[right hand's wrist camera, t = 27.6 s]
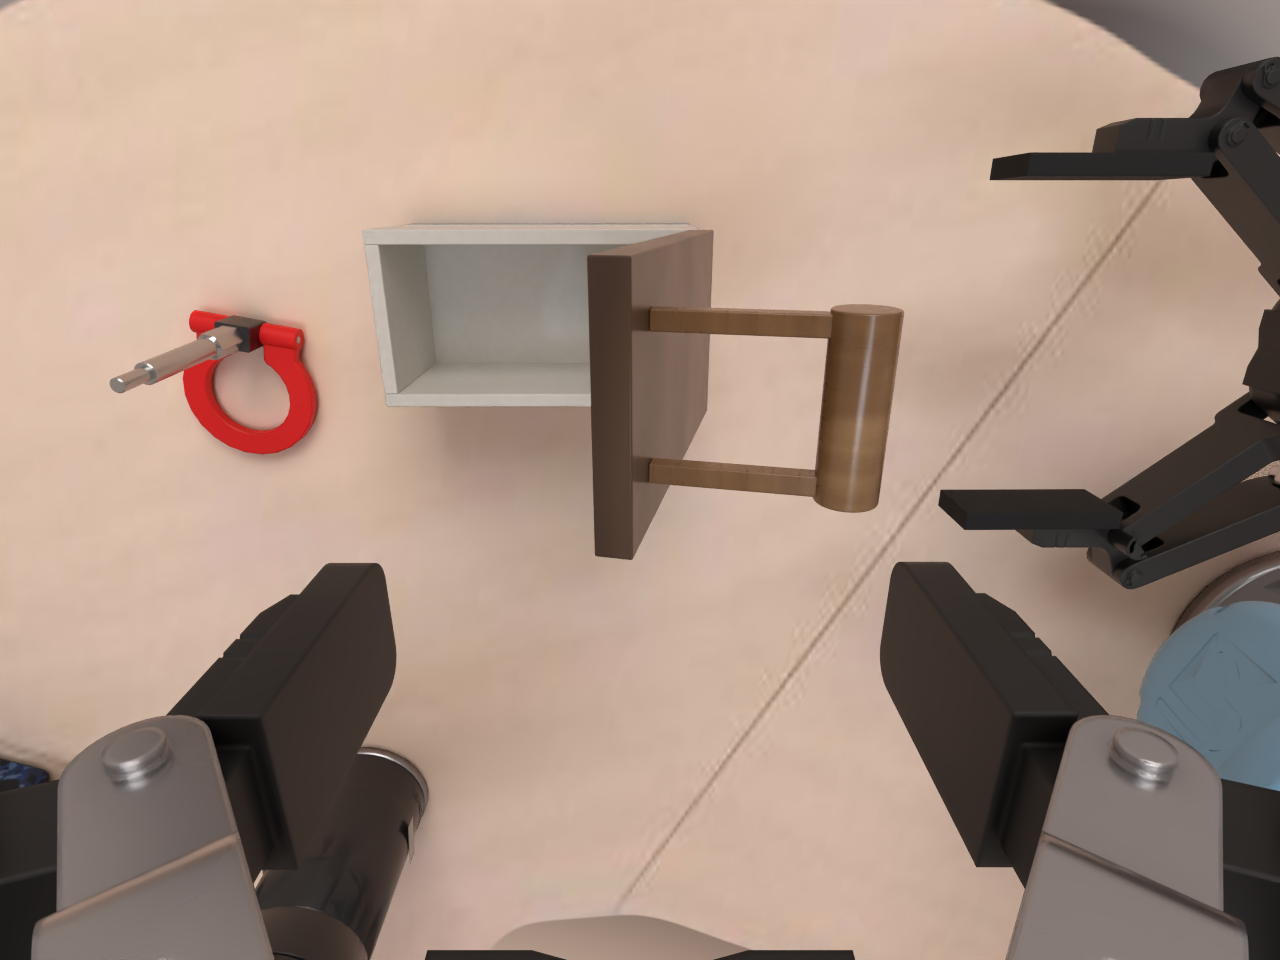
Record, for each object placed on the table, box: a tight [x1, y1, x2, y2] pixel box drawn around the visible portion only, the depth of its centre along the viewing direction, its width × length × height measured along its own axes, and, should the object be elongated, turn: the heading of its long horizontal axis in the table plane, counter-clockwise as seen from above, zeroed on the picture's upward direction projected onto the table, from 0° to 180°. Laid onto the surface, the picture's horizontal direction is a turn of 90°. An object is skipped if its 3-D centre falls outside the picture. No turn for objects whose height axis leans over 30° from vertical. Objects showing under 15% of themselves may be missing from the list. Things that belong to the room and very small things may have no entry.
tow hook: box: [110, 310, 317, 454], centre depth 42 cm, size 8×13×9 cm
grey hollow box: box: [362, 224, 699, 407], centre depth 41 cm, size 17×9×9 cm, turn 90°
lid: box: [587, 230, 904, 560], centre depth 28 cm, size 18×9×9 cm
